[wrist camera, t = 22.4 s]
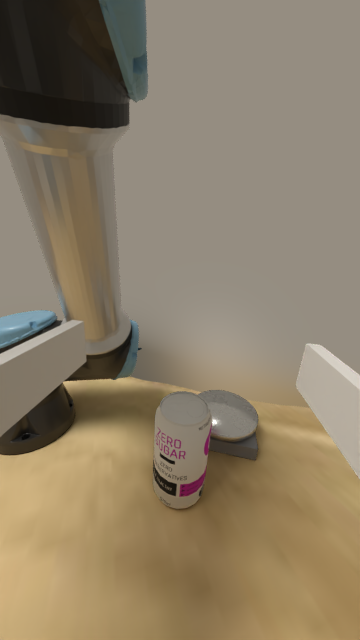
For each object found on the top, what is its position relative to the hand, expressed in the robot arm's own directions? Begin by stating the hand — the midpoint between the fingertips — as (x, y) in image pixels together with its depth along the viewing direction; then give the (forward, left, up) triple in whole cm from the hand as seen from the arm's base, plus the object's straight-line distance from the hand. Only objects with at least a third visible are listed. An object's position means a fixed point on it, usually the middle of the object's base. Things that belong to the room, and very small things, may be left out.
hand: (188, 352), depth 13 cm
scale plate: (0, +29, -29) cm, 41 cm away
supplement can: (-4, +14, -30) cm, 33 cm away
